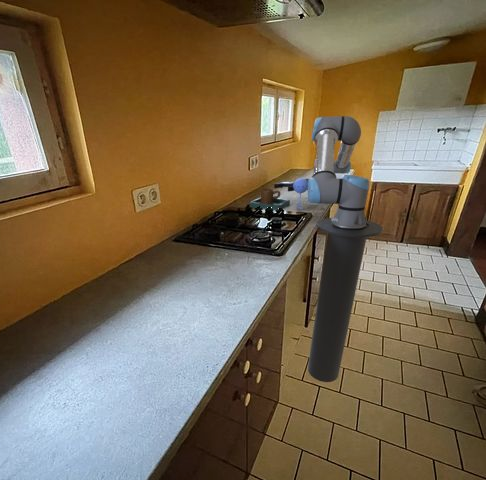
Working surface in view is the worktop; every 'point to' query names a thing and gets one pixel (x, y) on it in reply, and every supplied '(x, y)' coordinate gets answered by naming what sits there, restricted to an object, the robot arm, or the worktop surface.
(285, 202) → the tray
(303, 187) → the baby rattle
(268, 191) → the mug
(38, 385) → the worktop surface
